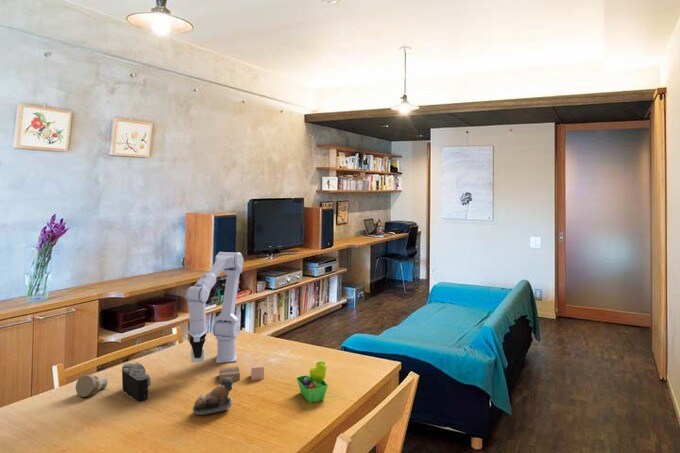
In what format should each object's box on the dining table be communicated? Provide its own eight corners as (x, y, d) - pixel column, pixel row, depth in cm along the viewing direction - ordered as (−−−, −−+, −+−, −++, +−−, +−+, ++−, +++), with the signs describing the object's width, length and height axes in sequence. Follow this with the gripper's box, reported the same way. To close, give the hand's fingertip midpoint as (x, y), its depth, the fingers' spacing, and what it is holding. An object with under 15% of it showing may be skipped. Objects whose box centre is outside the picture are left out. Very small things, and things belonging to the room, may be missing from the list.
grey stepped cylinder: (115, 387, 155) (108, 368, 149) (92, 409, 147) (84, 390, 142) (98, 379, 157) (92, 360, 151) (75, 401, 149) (67, 382, 144)
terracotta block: (250, 375, 165) (250, 363, 164) (263, 374, 166) (262, 362, 165) (251, 380, 160) (251, 368, 160) (264, 379, 161) (264, 366, 161)
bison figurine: (194, 420, 130) (193, 386, 130) (191, 410, 137) (191, 378, 136) (235, 412, 135) (234, 380, 135) (231, 403, 142) (230, 372, 141)
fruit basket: (295, 391, 150) (295, 359, 150) (320, 387, 154) (320, 355, 153) (306, 405, 140) (306, 370, 139) (332, 400, 143) (332, 366, 143)
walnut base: (219, 376, 165) (219, 368, 165) (238, 374, 167) (238, 366, 167) (219, 383, 158) (219, 375, 158) (239, 381, 160) (239, 373, 160)
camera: (159, 396, 146) (158, 367, 146) (138, 403, 141) (137, 372, 141) (140, 384, 156) (139, 356, 156) (120, 390, 151) (119, 361, 151)
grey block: (192, 358, 164) (191, 346, 164) (204, 357, 165) (204, 345, 165) (191, 362, 159) (191, 350, 159) (204, 361, 161) (204, 349, 160)
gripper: (187, 314, 167) (188, 350, 168) (184, 324, 153) (185, 363, 154) (207, 313, 169) (207, 348, 170) (205, 323, 155) (206, 361, 156)
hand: (198, 355), depth 162 cm, fingers closed on grey block, 4 cm apart
